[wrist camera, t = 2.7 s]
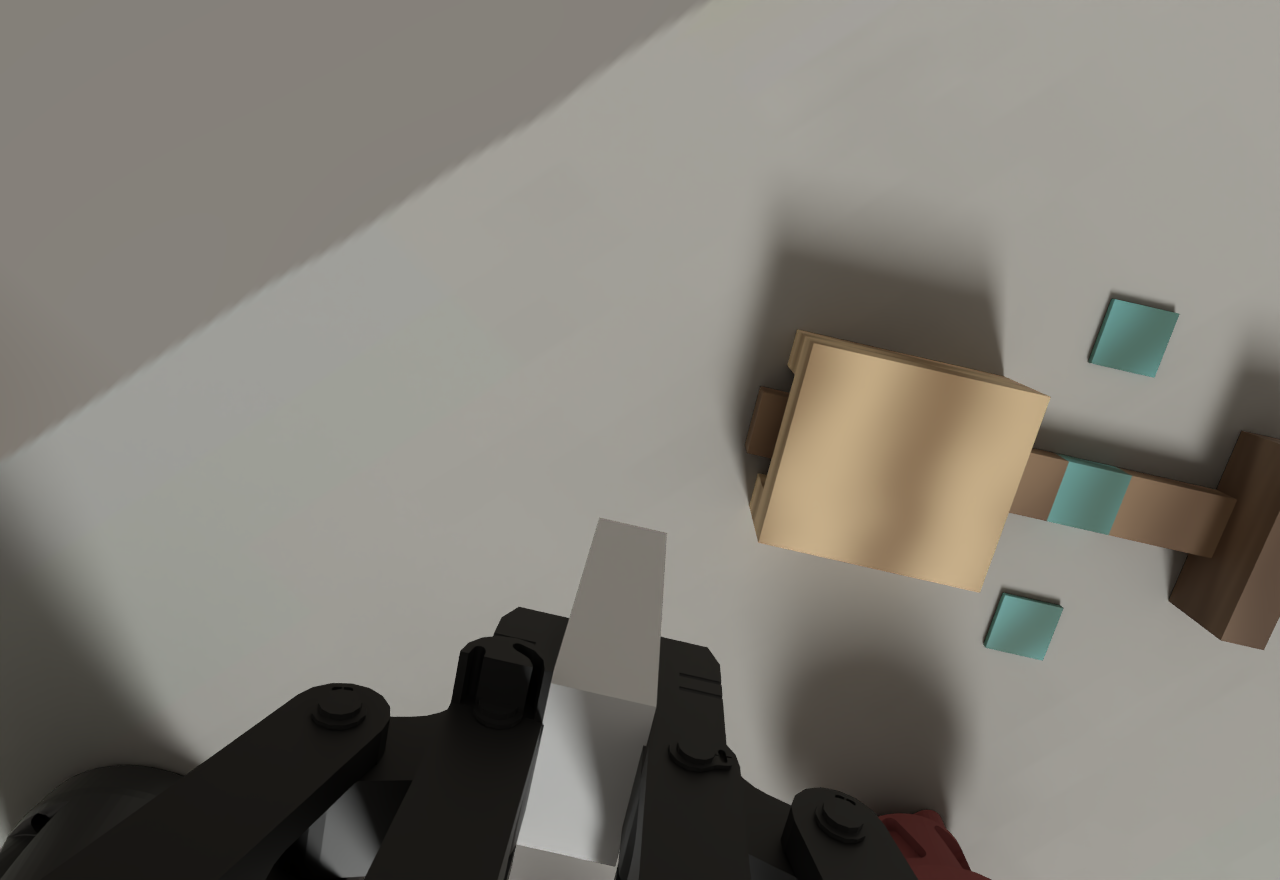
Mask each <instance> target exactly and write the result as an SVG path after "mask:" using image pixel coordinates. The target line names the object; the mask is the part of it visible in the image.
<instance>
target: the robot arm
mask: <svg viewBox="0 0 1280 880" xmlns="http://www.w3.org/2000/svg"><path fill="white" fill-rule="evenodd" d="M666 538H667V533H664V532H660V531H656V530H651V529H647V528H642V527H638V526H634V525H629V524H625V523H620V522H616V521H612V520H607V519H603V518H599V521H598V524H597V528H596V531H595V534H594V538H593V541H592V544H591V548H590V551H589V554H588V558H587V561H586V564H585V568H584V571H583V574H582V578H581V581H580V584H579V588H578V591H577V594H576V598H575V601H574V604H573V608H572V611H571V614H570V618H566V617H562V616H557V615H553V614H548V613H544V612H540V611H535V610H531V609H526V608H522V607H518V608H516V609H515V610H513V611H511V612H510V613H508V614H507V615H505V616H503V617H502V618H501V620H500V622H499V624H498V626H497V628H496V630H495V632H494V636H493V637H483V638H480V639H477V640H475V641H472V642H469V643H468V644H467V645H466V646H465V647H464V648H463V649H462V650H461V651H460V656H459V661H458V667H457V672H456V678H455V684H454V689H453V695H452V700H451V704H450V706H449V708H448V709H447V710H445V711H443V712H440V713H436V714H432V715H428V716H417V717H390V706H389V705H388V703H387V702H386V700H385V699H384V697H383V696H382V695H380V694H378V693H377V692H375V691H373V690H372V689H370V688H367V687H363V686H359V685H355V684H347V683H331V684H326V685H321V686H316V687H312V688H310V689H308V690H306V691H304V692H302V693H300V694H298V695H297V696H295V697H294V698H292V699H291V700H290V701H288V702H287V703H286V704H284V705H283V706H281V707H280V708H279V709H277V710H276V711H274V712H273V713H272V714H270V715H269V716H267V717H266V718H265V719H263V720H262V721H260V722H259V723H258V724H256V725H255V726H254V727H252V728H251V729H249V730H248V731H247V732H245V733H244V734H242V735H241V736H240V737H238V738H237V739H235V740H234V741H233V742H231V743H230V744H228V745H227V746H226V747H224V748H223V749H221V750H220V751H219V752H217V753H216V754H215V755H213V756H212V757H210V758H209V759H208V760H206V761H205V762H203V763H202V764H201V765H199V766H198V767H196V768H195V769H194V770H192V771H191V772H189V773H188V774H187V775H185V776H184V777H183V776H180V775H178V774H174V773H171V772H168V771H164V770H160V769H155V768H150V767H143V766H110V767H103V768H98V769H94V770H90V771H87V772H84V773H82V774H79V775H77V776H75V777H73V778H71V779H69V780H67V781H65V782H64V783H62V784H61V785H59V786H58V787H57V788H55V789H54V790H53V791H52V792H51V793H50V794H49V795H48V796H46V797H45V798H44V799H43V800H42V801H41V802H40V803H39V804H37V805H36V806H35V807H34V808H33V809H32V810H31V811H30V812H29V813H27V814H26V815H25V816H24V817H23V818H22V820H21V821H20V822H19V823H18V824H17V825H16V827H15V828H14V829H13V830H12V832H11V833H10V835H9V836H8V838H7V839H6V841H5V843H4V844H3V846H2V848H1V849H0V880H508V879H509V875H510V871H511V866H512V862H513V857H514V852H515V848H516V844H517V845H522V846H526V847H531V848H535V849H539V850H544V851H548V852H553V853H557V854H562V855H566V856H570V857H575V858H579V859H584V860H588V861H593V862H597V863H601V864H606V865H610V866H616V862H617V858H618V854H619V862H618V867H617V871H616V875H615V879H614V880H918V878H917V877H916V875H915V873H914V872H913V870H912V869H911V867H910V865H909V864H908V862H907V861H906V859H905V857H904V856H903V854H902V852H901V851H900V849H899V848H898V846H897V844H896V843H895V841H894V840H893V838H892V836H891V835H890V833H889V831H888V830H887V828H886V827H885V825H884V824H883V823H882V821H881V820H880V819H879V818H878V817H877V815H876V814H875V813H874V812H873V811H872V810H871V809H869V808H868V807H867V806H865V805H864V804H863V803H861V802H860V801H858V800H857V799H855V798H853V797H851V796H849V795H846V794H845V793H842V792H840V791H836V790H831V789H826V788H821V787H820V788H810V789H805V790H803V791H802V792H800V793H798V794H797V795H795V797H794V800H793V803H792V805H789V804H787V803H785V802H782V801H780V800H778V799H776V798H774V797H772V796H770V795H768V794H766V793H764V792H762V791H760V790H759V789H757V788H755V787H754V786H752V785H751V784H750V783H748V782H747V781H746V780H745V779H743V778H742V777H741V773H740V766H739V763H738V760H737V758H736V755H735V754H734V753H733V752H732V751H731V749H730V748H729V747H728V746H727V745H726V734H725V722H724V710H723V699H722V685H721V673H720V664H719V663H718V662H717V660H716V659H715V657H714V656H713V654H712V653H711V652H710V650H709V649H708V647H703V646H699V645H694V644H690V643H686V642H681V641H677V640H672V639H668V638H664V637H661V621H662V604H663V588H664V571H665V554H666ZM619 850H620V852H619Z"/></svg>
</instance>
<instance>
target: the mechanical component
mask: <svg viewBox="0 0 1280 880" xmlns="http://www.w3.org/2000/svg"><path fill="white" fill-rule="evenodd" d="M878 818H879V819H880V820H881V821H882V823H883V824H884V825H885V827H886V828H887V830H888V831H889V833H890V835H891V836H892V838H893V840H894V841H895V843H896V844H897V846H898V848H899V849H900V851H901V852H902V854H903V856H904V857H905V859H906V861H907V862H908V864H909V865H910V867H911V869H912V870H913V872H914V873H915V875H916V877H917V878H918V880H991V879H989V878H987V877H985V876H982V875H980V874H978V873H975V872H972V871H971V869H970V867H969V865H968V863H967V861H966V858H965V856H964V854H963V852H962V850H961V848H960V846H959V844H958V842H957V840H956V839H955V838H954V837H953V835H952V834H951V833H950V832H949V831H948V830H947V829H946V828H945V826H944V823H943V821H942V819H941V817H940V815H939V814H938V813H937V812H935V811H933V810H921V811H919V812H917V813H915V814H903V813H896V814H886V815H882V816H878Z"/></svg>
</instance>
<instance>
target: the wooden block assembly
mask: <svg viewBox="0 0 1280 880" xmlns="http://www.w3.org/2000/svg"><path fill="white" fill-rule="evenodd" d="M1178 317H1179V314H1178V313H1174V312H1169V311H1165V310H1161V309H1156V308H1152V307H1147V306H1143V305H1139V304H1134V303H1130V302H1125V301H1121V300H1117V299H1111V302H1110V305H1109V307H1108V310H1107V313H1106V315H1105V318H1104V321H1103V323H1102V326H1101V329H1100V332H1099V334H1098V337H1097V340H1096V342H1095V345H1094V348H1093V350H1092V353H1091V356H1090V359H1089V361H1088V362H1089V363H1092V364H1097V365H1101V366H1106V367H1110V368H1114V369H1119V370H1123V371H1127V372H1132V373H1136V374H1141V375H1145V376H1149V377H1155V375H1156V372H1157V370H1158V367H1159V365H1160V362H1161V360H1162V357H1163V355H1164V352H1165V349H1166V347H1167V344H1168V342H1169V339H1170V337H1171V334H1172V332H1173V329H1174V327H1175V324H1176V322H1177V319H1178ZM789 394H790V393H789V392H784V391H780V390H775V389H771V388H767V387H762V386H760V389H759V393H758V397H757V401H756V404H755V408H754V412H753V416H752V420H751V423H750V427H749V431H748V435H747V439H746V442H745V447H746V451H747V453H749V454H753V455H757V456H762V457H766V458H771V459H772V456H773V453H774V449H775V445H776V442H777V438H778V434H779V431H780V427H781V423H782V420H783V416H784V412H785V409H786V405H787V402H788V398H789ZM1009 513H1013V514H1018V515H1022V516H1027V517H1031V518H1035V519H1040V520H1044V521H1049V522H1053V523H1058V524H1062V525H1066V526H1071V527H1075V528H1080V529H1084V530H1088V531H1093V532H1097V533H1102V534H1106V535H1110V536H1115V537H1119V538H1124V539H1128V540H1133V541H1137V542H1141V543H1146V544H1150V545H1155V546H1159V547H1163V548H1168V549H1172V550H1177V551H1181V552H1186V553H1189V554H1188V557H1187V559H1186V561H1185V564H1184V566H1183V568H1182V570H1181V573H1180V575H1179V577H1178V580H1177V582H1176V584H1175V587H1174V589H1173V591H1172V594H1171V596H1170V598H1169V602H1171V603H1172V604H1173V605H1175V606H1176V607H1177V608H1178V609H1180V610H1181V611H1182V612H1184V613H1185V614H1186V615H1188V616H1189V617H1190V618H1192V619H1193V620H1194V621H1196V622H1197V623H1198V624H1200V625H1201V626H1202V627H1204V628H1205V629H1206V630H1208V631H1209V632H1210V633H1212V634H1213V635H1214V636H1216V637H1217V638H1218V639H1220V640H1221V641H1226V642H1230V643H1235V644H1239V645H1244V646H1248V647H1252V648H1257V649H1261V650H1264V648H1265V646H1266V644H1267V642H1268V640H1269V638H1270V636H1271V634H1272V632H1273V629H1274V627H1275V625H1276V623H1277V621H1278V619H1279V617H1280V439H1276V438H1272V437H1267V436H1263V435H1259V434H1254V433H1250V432H1245V431H1241V434H1240V436H1239V438H1238V441H1237V443H1236V445H1235V447H1234V450H1233V452H1232V454H1231V457H1230V459H1229V461H1228V464H1227V466H1226V468H1225V471H1224V473H1223V475H1222V478H1221V480H1220V482H1219V485H1218V487H1217V489H1211V488H1207V487H1202V486H1198V485H1194V484H1189V483H1185V482H1180V481H1176V480H1172V479H1167V478H1163V477H1158V476H1154V475H1150V474H1145V473H1141V472H1136V471H1132V470H1128V469H1123V468H1119V467H1114V466H1110V465H1106V464H1101V463H1097V462H1092V461H1088V460H1083V459H1079V458H1075V457H1070V456H1066V455H1061V454H1057V453H1053V452H1048V451H1044V450H1039V449H1035V448H1032V450H1031V453H1030V455H1029V458H1028V461H1027V464H1026V466H1025V469H1024V472H1023V475H1022V477H1021V480H1020V483H1019V486H1018V489H1017V491H1016V494H1015V497H1014V500H1013V502H1012V505H1011V508H1010V511H1009ZM1062 611H1063V607H1062V606H1060V605H1056V604H1051V603H1047V602H1043V601H1038V600H1034V599H1029V598H1025V597H1020V596H1016V595H1012V594H1007V593H1002V596H1001V599H1000V602H999V604H998V607H997V610H996V612H995V615H994V618H993V620H992V623H991V626H990V628H989V631H988V634H987V637H986V639H985V642H984V646H985V647H986V648H989V649H994V650H998V651H1003V652H1007V653H1012V654H1016V655H1020V656H1025V657H1029V658H1034V659H1038V660H1043V659H1044V656H1045V654H1046V651H1047V649H1048V646H1049V644H1050V641H1051V639H1052V636H1053V633H1054V631H1055V628H1056V626H1057V623H1058V621H1059V618H1060V616H1061V613H1062Z"/></svg>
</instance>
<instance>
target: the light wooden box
mask: <svg viewBox="0 0 1280 880" xmlns="http://www.w3.org/2000/svg"><path fill="white" fill-rule="evenodd" d="M788 367H789V368H790V369H791V370H792V372H793V373H794V374H795V376H794V380H793V383H792V387H791V391H790V394H789V398H788V402H787V405H786V409H785V412H784V416H783V420H782V423H781V427H780V431H779V434H778V438H777V442H776V445H775V449H774V453H773V456H772V460H771V463H770V467H769V471H768V474H767V475H764V474H760V473H758V475H757V479H756V483H755V487H754V490H753V494H752V498H751V501H750V505H749V507H750V511H751V515H752V519H753V523H754V527H755V531H756V535H757V539H758V543H762V544H767V545H771V546H776V547H780V548H785V549H789V550H793V551H798V552H802V553H807V554H811V555H816V556H820V557H824V558H829V559H833V560H838V561H842V562H847V563H851V564H855V565H860V566H864V567H869V568H873V569H877V570H882V571H886V572H891V573H895V574H900V575H904V576H908V577H913V578H917V579H922V580H926V581H931V582H935V583H939V584H944V585H948V586H953V587H957V588H961V589H966V590H970V591H975V592H979V593H980V591H981V588H982V585H983V582H984V580H985V577H986V574H987V571H988V569H989V566H990V563H991V560H992V558H993V555H994V552H995V549H996V547H997V544H998V541H999V538H1000V535H1001V533H1002V530H1003V527H1004V524H1005V522H1006V519H1007V516H1008V513H1009V511H1010V508H1011V505H1012V502H1013V500H1014V497H1015V494H1016V491H1017V489H1018V486H1019V483H1020V480H1021V477H1022V475H1023V472H1024V469H1025V466H1026V464H1027V461H1028V458H1029V455H1030V453H1031V450H1032V447H1033V444H1034V442H1035V439H1036V436H1037V433H1038V431H1039V428H1040V425H1041V422H1042V420H1043V417H1044V414H1045V411H1046V408H1047V406H1048V403H1049V400H1050V397H1049V396H1047V395H1045V394H1043V393H1040V392H1038V391H1036V390H1034V389H1031V388H1029V387H1027V386H1024V385H1022V384H1020V383H1018V382H1015V381H1013V380H1011V379H1009V378H1006V377H1004V376H1000V375H995V374H991V373H987V372H982V371H978V370H973V369H969V368H965V367H960V366H956V365H951V364H947V363H943V362H938V361H934V360H930V359H925V358H921V357H916V356H912V355H908V354H903V353H899V352H894V351H890V350H886V349H881V348H877V347H872V346H868V345H864V344H859V343H855V342H850V341H846V340H842V339H837V338H833V337H828V336H824V335H820V334H815V333H811V332H806V331H802V330H798V329H797V332H796V335H795V339H794V343H793V346H792V350H791V354H790V358H789V361H788Z"/></svg>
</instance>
